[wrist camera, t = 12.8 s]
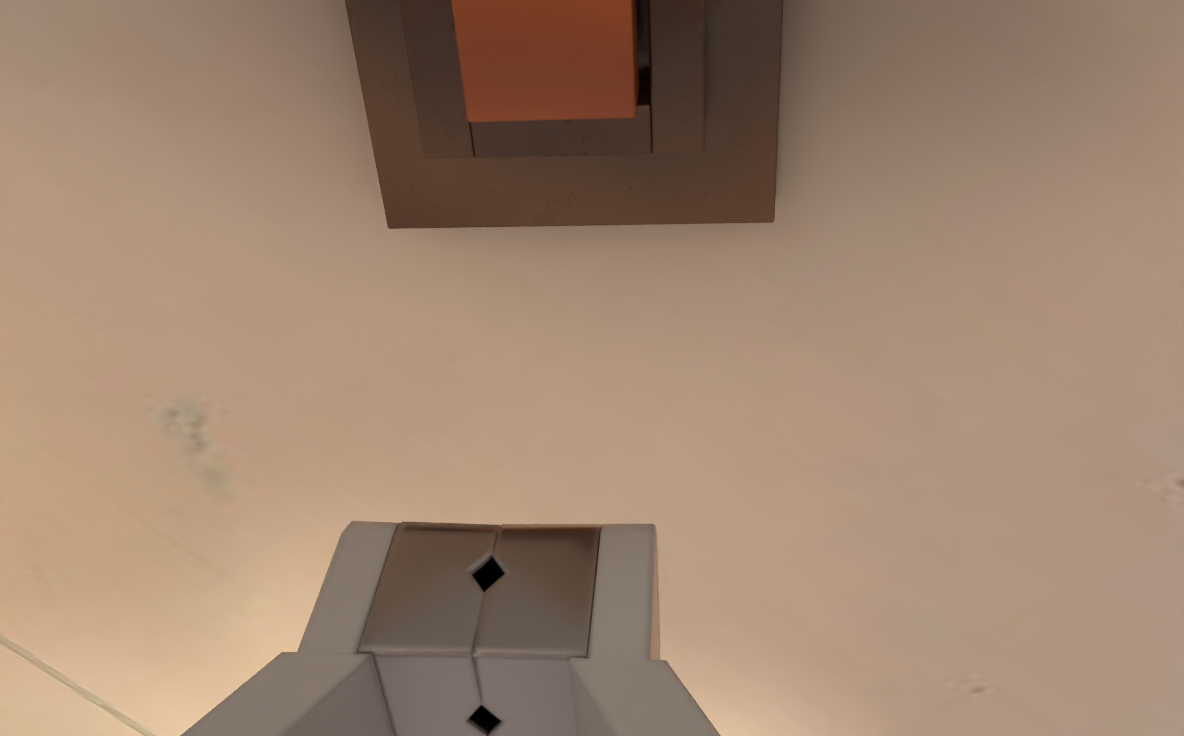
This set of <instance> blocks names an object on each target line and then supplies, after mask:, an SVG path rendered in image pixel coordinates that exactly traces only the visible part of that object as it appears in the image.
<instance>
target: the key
mask: <svg viewBox="0 0 1184 736" xmlns="http://www.w3.org/2000/svg"><path fill="white" fill-rule="evenodd" d="M451 2H452V10H453V17H454V25H455V32H456V40H457V47H458V55H459V62H460V70H461V77H462V85H463V92H464V100H465V107H466V115H467V120H468V122H492V121H531V120H569V119H608V118H634V117H635V116H636V110H637V101H638V93H639V65H638V37H637V10H636V0H451Z"/></svg>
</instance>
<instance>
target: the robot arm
mask: <svg viewBox="0 0 1184 736" xmlns="http://www.w3.org/2000/svg"><path fill="white" fill-rule="evenodd" d="M181 736H720V734H719V733H718V732H717V730H716V729H715V727H714V726H713V725H712V723H711V722H710V720H709V719H708V718H707V716H706V715H705V714H704V712H703V711H702V709H701V708H700V707H699V705H698V704H697V703H696V701H695V700H694V698H693V697H692V696H691V694H690V693H689V691H688V690H687V689H686V687H685V686H684V685H683V683H682V682H681V680H680V679H679V678H678V676H677V675H676V673H675V672H674V671H673V669H672V668H671V667H670V665H669V664H668V662H667V661H666V660H660V615H659V582H658V552H657V532H656V526H655V525H654V524H502V525H486V524H456V523H426V522H402V523H391V522H365V521H352V522H351V523H350V524H349V525H348V526H347V527H346V528H345V530H344V531H343V532H342V533H341V536H340V539H339V541H338V544H337V547H336V549H335V552H334V555H333V557H332V560H331V563H330V565H329V568H328V571H327V573H326V576H325V579H324V581H323V584H322V587H321V589H320V592H319V595H318V597H317V600H316V603H315V606H314V608H313V611H312V614H311V616H310V619H309V622H308V624H307V627H306V630H305V632H304V635H303V638H302V640H301V643H300V646H299V648H298V651H297V652H282V653H280V654H279V655H278V656H277V657H276V658H274V659H273V660H272V661H271V662H270V663H268V664H267V665H266V666H265V667H263V668H262V669H261V670H260V671H259V672H257V673H256V674H255V675H254V676H252V677H251V678H250V679H249V680H248V681H246V682H245V683H244V684H243V685H242V686H240V687H239V688H238V689H237V690H235V691H234V692H233V693H232V694H231V695H229V696H228V697H227V698H226V699H225V700H223V701H222V702H221V703H220V704H218V705H217V706H216V707H215V708H214V709H212V710H211V711H210V712H209V713H207V714H206V715H205V716H204V717H203V718H201V719H200V720H199V721H198V722H197V723H195V724H194V725H193V726H192V727H190V728H189V729H188V730H187V731H186V732H184V733H183V734H182V735H181Z"/></svg>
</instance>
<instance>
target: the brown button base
mask: <svg viewBox="0 0 1184 736" xmlns="http://www.w3.org/2000/svg"><path fill="white" fill-rule="evenodd" d="M345 3H346V9H347V14H348V19H349V24H350V30H351V35H352V40H353V45H354V51H355V56H356V61H357V67H358V72H359V77H360V82H361V88H362V93H363V98H364V103H365V109H366V114H367V119H368V125H369V130H370V135H371V140H372V146H373V151H374V156H375V161H376V167H377V172H378V177H379V183H380V188H381V193H382V198H383V204H384V209H385V214H386V219H387V225H388V228H389V229H396V228H458V227H520V226H581V225H643V224H705V223H766V222H774V215H775V191H776V167H777V142H778V118H779V94H780V70H781V45H782V21H783V0H636V10H637V37H638V65H639V93H638V101H637V110H636V116H635V117H634V118H608V119H569V120H531V121H492V122H468V120H467V115H466V107H465V100H464V92H463V85H462V77H461V70H460V62H459V55H458V47H457V40H456V32H455V25H454V17H453V10H452V2H451V0H345Z"/></svg>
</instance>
